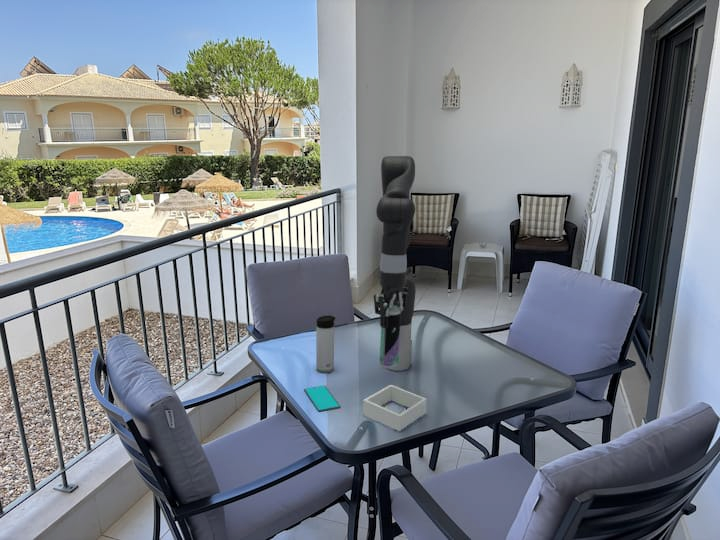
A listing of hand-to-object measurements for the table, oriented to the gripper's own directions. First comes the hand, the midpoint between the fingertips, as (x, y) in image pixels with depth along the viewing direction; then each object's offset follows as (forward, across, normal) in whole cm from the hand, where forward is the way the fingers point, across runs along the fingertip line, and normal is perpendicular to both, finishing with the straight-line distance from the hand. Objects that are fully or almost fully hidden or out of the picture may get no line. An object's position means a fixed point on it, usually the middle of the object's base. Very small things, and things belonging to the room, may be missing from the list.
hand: (390, 324), depth 147 cm
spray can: (+13, 0, 0) cm, 13 cm away
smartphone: (+29, +8, -20) cm, 36 cm away
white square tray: (+28, 0, +3) cm, 28 cm away
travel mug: (+28, -8, -34) cm, 45 cm away
